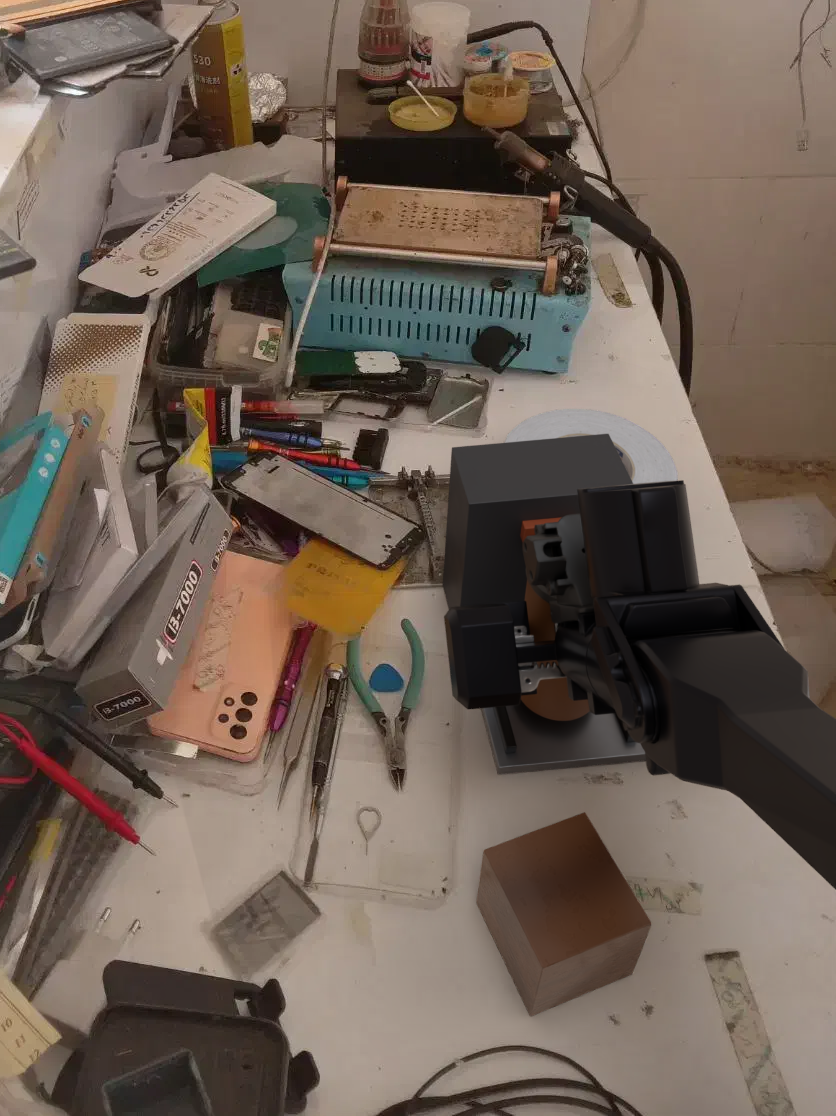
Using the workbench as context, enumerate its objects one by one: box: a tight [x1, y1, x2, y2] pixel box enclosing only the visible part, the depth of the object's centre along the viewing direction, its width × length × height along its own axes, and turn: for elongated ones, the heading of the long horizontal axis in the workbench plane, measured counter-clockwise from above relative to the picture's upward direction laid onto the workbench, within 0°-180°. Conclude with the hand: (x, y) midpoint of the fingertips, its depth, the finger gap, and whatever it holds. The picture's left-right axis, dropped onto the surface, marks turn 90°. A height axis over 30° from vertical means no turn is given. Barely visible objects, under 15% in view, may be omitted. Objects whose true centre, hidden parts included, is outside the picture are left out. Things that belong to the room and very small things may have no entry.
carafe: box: [521, 570, 589, 721], centre depth 71 cm, size 8×6×13 cm
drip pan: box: [480, 700, 646, 775], centre depth 75 cm, size 11×11×2 cm
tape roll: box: [503, 408, 679, 484], centre depth 90 cm, size 15×15×5 cm
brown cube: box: [476, 812, 653, 1017], centre depth 61 cm, size 7×7×7 cm
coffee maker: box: [442, 434, 633, 611], centre depth 78 cm, size 7×12×16 cm, turn 94°
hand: (557, 628), depth 72 cm, fingers closed on carafe, 6 cm apart
